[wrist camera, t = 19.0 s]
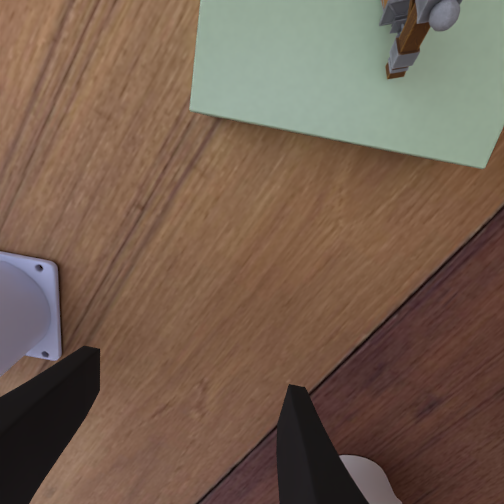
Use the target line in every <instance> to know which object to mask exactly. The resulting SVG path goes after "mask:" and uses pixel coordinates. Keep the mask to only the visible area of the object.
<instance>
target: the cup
mask: <svg viewBox="0 0 504 504" xmlns="http://www.w3.org/2000/svg"><path fill="white" fill-rule="evenodd" d="M339 457H340V458H341V460H342V462H343V464H344V465H345V467H346V469H347V470H348V472H349V474H350V475H351V477H352V478H353V480H354V482H355V483H356V485H357V486H358V488H359V489H360V491H361V492H362V494H363V495H364V497H365V498H366V500H367V501H368V503H369V504H402V502H401V501H400V500H399V499H398V498H397V497H396V496H395V494H394V492H393V490H392V488H391V485H390V483H389V481H388V479H387V476H386V474H385V473H384V471H383V469H382V468H381V467H380V466H379V465H377V464H376V463H375V462H373V461H371V460H369V459H367V458H363V457H359V456H355V455H340V456H339Z"/></svg>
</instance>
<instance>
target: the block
mask: <svg viewBox="0 0 504 504" xmlns="http://www.w3.org/2000/svg"><path fill="white" fill-rule="evenodd" d="M382 14H383V9H382V5H381V1H380V0H200V9H199V19H198V28H197V38H196V48H195V58H194V68H193V78H192V88H191V98H190V108H189V109H190V111H191V112H195V113H199V114H203V115H207V116H212V117H218V118H223V119H228V120H233V121H238V122H243V123H248V124H253V125H258V126H263V127H268V128H273V129H278V130H283V131H289V132H294V133H299V134H304V135H309V136H314V137H319V138H324V139H329V140H334V141H339V142H344V143H349V144H355V145H360V146H365V147H370V148H375V149H380V150H385V151H390V152H395V153H400V154H405V155H410V156H415V157H420V158H426V159H431V160H436V161H441V162H447V163H452V164H458V165H463V166H469V167H474V168H480V169H484V168H485V167H486V165H487V163H488V160H489V158H490V156H491V154H492V151H493V149H494V147H495V144H496V142H497V140H498V138H499V135H500V133H501V131H502V129H503V126H504V0H462V2H461V4H460V14H459V17H458V20H457V21H456V23H455V24H454V25H453V26H452V27H451V28H449V29H448V30H445V31H435V30H434V29H433V28H432V27H430V29H429V31H428V33H427V34H426V36H425V38H424V40H423V42H422V43H421V45H420V53H419V55H418V57H417V59H416V60H415V62H414V64H413V66H409V69H408V71H406V73H405V75H404V77H399V78H393V79H387V75H386V68H385V66H386V64H387V63H388V58H389V57H390V54H389V52H390V50H391V47H392V45H393V43H394V41H395V37H396V36H397V33H391V34H389V33H390V30H391V28H392V27H391V25H392V24H389V25H384V26H379V22H380V19H381V17H382ZM400 33H401V32H400Z"/></svg>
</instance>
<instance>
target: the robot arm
mask: <svg viewBox="0 0 504 504" xmlns="http://www.w3.org/2000/svg"><path fill="white" fill-rule="evenodd" d="M39 265H41V266H42V267H43V269H41V268H40V266H39ZM24 355H26V356H31V357H37V358H42V359H47V360H53V361H56V360H58V359H59V358H60V357H61V355H62V348H61V327H60V305H59V284H58V268H57V265H56V264H55V263H54V262H52V261H49V260H44V259H39V258H33V257H28V256H23V255H18V254H12V253H7V252H2V251H0V377H1V376H2V375H3V374H4V373H5V372H6V371H7V370H9V369H10V368H11V367H12V366H13V365H14V364H15V363H16V362H17V361H18V360H20V359H21V358H22V357H23V356H24ZM99 391H100V349H98V348H93V347H88V346H83V347H81V348H80V349H78V350H77V351H75V352H73V353H72V354H70V355H69V356H67V357H66V358H64V359H62V360H61V361H59V362H58V363H56V364H55V365H53V366H52V367H50V368H48V369H47V370H45V371H44V372H42V373H40V374H39V375H37V376H36V377H34V378H32V379H31V380H29V381H27V382H26V383H24V384H22V385H21V386H19V387H17V388H15V389H14V390H12V391H10V392H8V393H7V394H5V395H3V396H2V397H0V504H29V503H30V501H31V499H32V498H33V496H34V494H35V493H36V491H37V489H38V488H39V486H40V485H41V483H42V481H43V480H44V478H45V477H46V476H47V474H48V473H49V471H50V470H51V468H52V467H53V465H54V464H55V462H56V461H57V459H58V458H59V456H60V455H61V453H62V452H63V450H64V449H65V448H66V446H67V445H68V443H69V442H70V440H71V439H72V437H73V436H74V434H75V433H76V431H77V430H78V428H79V427H80V425H81V424H82V422H83V421H84V419H85V418H86V416H87V414H88V412H89V410H90V408H91V407H92V405H93V403H94V401H95V399H96V397H97V395H98V393H99ZM276 454H277V470H278V485H279V500H280V504H369V503H368V501H367V500H366V498H365V497H364V495H363V494H362V492H361V491H360V489H359V488H358V486H357V485H356V483H355V482H354V480H353V478H352V477H351V475H350V474H349V472H348V470H347V469H346V467H345V465H344V464H343V462H342V460H341V458H340V457H339V455H338V453H337V451H336V450H335V448H334V446H333V444H332V442H331V440H330V438H329V436H328V434H327V433H326V431H325V429H324V427H323V425H322V423H321V421H320V418H319V416H318V414H317V412H316V410H315V408H314V406H313V403H312V401H311V399H310V396H309V394H308V392H307V390H306V388H305V387H301V386H296V385H291V384H289V386H288V389H287V393H286V396H285V399H284V403H283V406H282V410H281V413H280V417H279V420H278V424H277V451H276Z"/></svg>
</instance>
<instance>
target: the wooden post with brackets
mask: <svg viewBox="0 0 504 504" xmlns="http://www.w3.org/2000/svg"><path fill="white" fill-rule="evenodd" d="M380 1H381V5H382V9H383V14H382V17H381V19H380V22H379V26H384V25H389V24H392V25H391V27H392V28H391V30H390V33H389V34H391V33H397V36H396V37H395V41H394V43H393V45H392V47H391V50H390V52H389V54H390V57H389V58H388V63H387V64H386V66H385V68H386V75H387V79H393V78H399V77H404V75H405V73H406V71H408V69H409V66H413V64H414V62H415V60H416V59H417V57H418V55H419V53H420V45H421V43H422V42H423V40H424V38H425V36H426V34H427V33H428V31H429V29H430V27H432V28H433V29H434V30H435V31H445V30H448V29H449V28H451V27H452V26H453V25H454V24H455V23H456V21H457V20H458V17H459V14H460V4H461V2H462V0H380ZM400 32H401V33H400Z"/></svg>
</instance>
